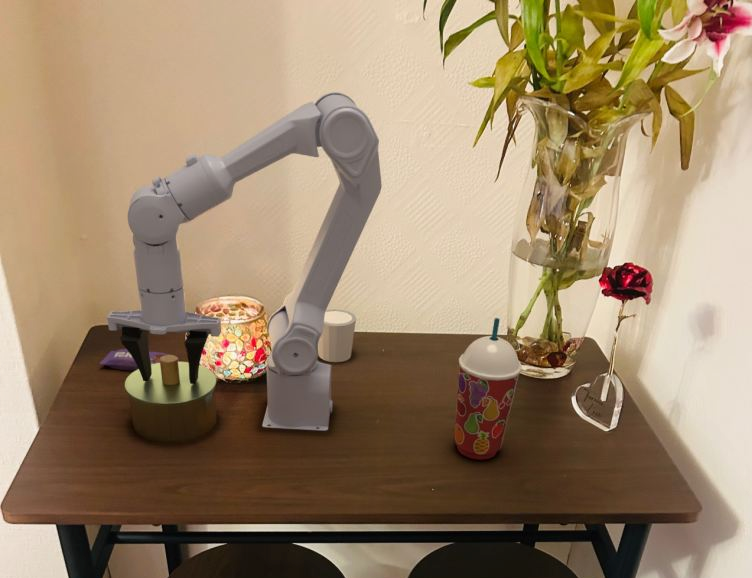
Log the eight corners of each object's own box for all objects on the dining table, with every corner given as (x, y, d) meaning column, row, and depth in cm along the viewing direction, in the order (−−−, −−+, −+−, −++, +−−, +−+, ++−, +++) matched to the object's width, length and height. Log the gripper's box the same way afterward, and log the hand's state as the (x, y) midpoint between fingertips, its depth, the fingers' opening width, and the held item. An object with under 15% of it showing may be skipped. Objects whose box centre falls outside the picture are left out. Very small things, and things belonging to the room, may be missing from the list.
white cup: (314, 346, 136) (314, 308, 132) (353, 346, 136) (354, 309, 132) (315, 363, 130) (315, 324, 126) (356, 364, 131) (357, 325, 127)
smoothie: (511, 441, 113) (534, 313, 102) (499, 471, 106) (523, 337, 95) (456, 429, 115) (473, 302, 104) (440, 457, 108) (457, 324, 97)
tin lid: (224, 370, 113) (222, 341, 111) (207, 412, 103) (205, 382, 101) (139, 365, 113) (135, 336, 110) (114, 407, 103) (109, 376, 100)
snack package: (97, 358, 123) (110, 345, 127) (99, 369, 124) (111, 356, 128) (169, 365, 122) (179, 352, 126) (170, 376, 123) (180, 363, 127)
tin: (222, 406, 116) (220, 367, 113) (208, 447, 107) (204, 407, 103) (145, 401, 116) (140, 363, 112) (123, 442, 107) (117, 402, 103)
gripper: (94, 293, 96) (109, 389, 104) (211, 300, 97) (217, 395, 104) (111, 273, 102) (124, 366, 110) (221, 280, 102) (227, 372, 110)
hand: (170, 379), depth 107 cm, fingers open, 6 cm apart
